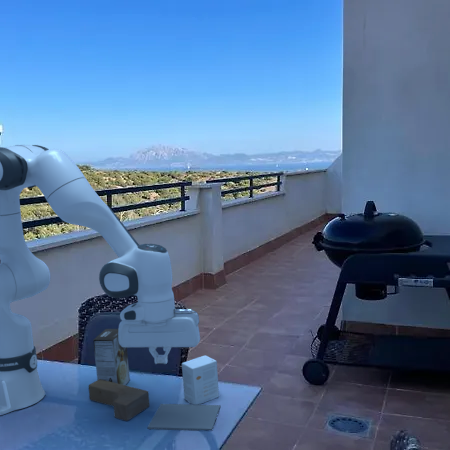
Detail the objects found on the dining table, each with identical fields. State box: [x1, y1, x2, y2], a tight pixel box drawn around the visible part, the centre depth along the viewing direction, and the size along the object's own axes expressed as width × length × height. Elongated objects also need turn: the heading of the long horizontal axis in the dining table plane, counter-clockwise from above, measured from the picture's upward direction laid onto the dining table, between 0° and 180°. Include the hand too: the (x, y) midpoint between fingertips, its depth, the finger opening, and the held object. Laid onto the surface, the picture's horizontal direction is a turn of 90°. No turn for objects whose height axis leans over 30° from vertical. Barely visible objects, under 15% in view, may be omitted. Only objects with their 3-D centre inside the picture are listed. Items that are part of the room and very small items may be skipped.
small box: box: [181, 354, 220, 405], centre depth 145 cm, size 8×6×10 cm
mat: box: [147, 403, 221, 431], centre depth 136 cm, size 16×12×1 cm
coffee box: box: [92, 328, 131, 386], centre depth 155 cm, size 9×6×16 cm
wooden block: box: [88, 379, 150, 422], centre depth 144 cm, size 9×4×18 cm
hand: (161, 363), depth 135 cm, fingers closed
